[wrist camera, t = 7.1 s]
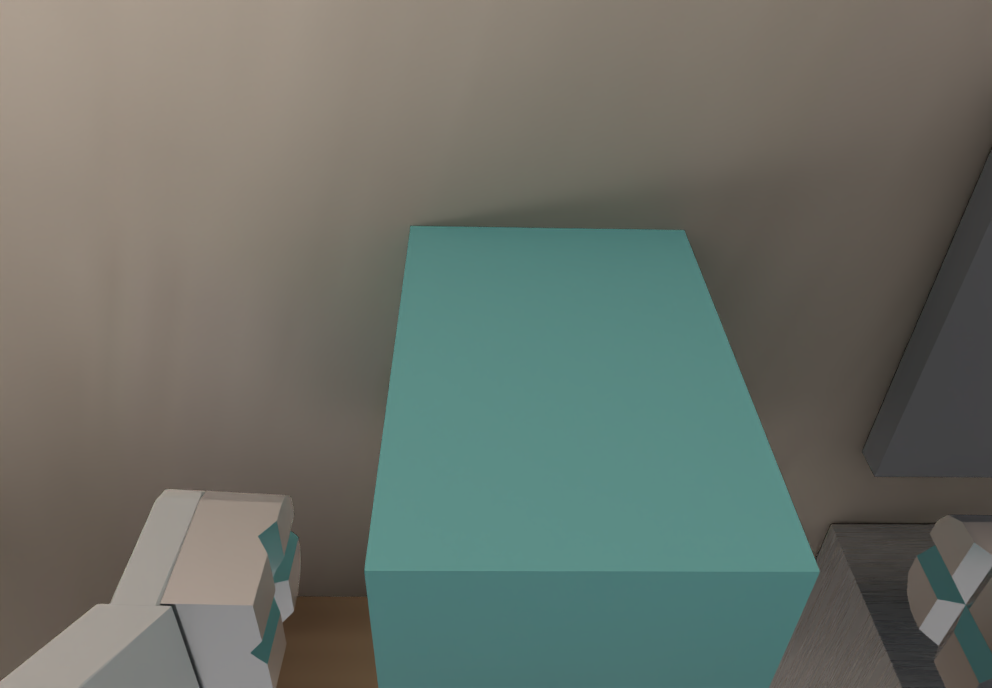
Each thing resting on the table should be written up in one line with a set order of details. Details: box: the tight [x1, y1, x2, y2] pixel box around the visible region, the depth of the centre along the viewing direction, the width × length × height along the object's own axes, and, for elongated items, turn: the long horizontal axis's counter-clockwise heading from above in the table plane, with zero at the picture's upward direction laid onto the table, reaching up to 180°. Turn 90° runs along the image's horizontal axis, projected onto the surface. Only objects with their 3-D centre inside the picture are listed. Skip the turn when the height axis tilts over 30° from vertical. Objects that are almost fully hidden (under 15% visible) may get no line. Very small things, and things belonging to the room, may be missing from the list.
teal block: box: [364, 226, 820, 688], centre depth 11 cm, size 4×4×6 cm
